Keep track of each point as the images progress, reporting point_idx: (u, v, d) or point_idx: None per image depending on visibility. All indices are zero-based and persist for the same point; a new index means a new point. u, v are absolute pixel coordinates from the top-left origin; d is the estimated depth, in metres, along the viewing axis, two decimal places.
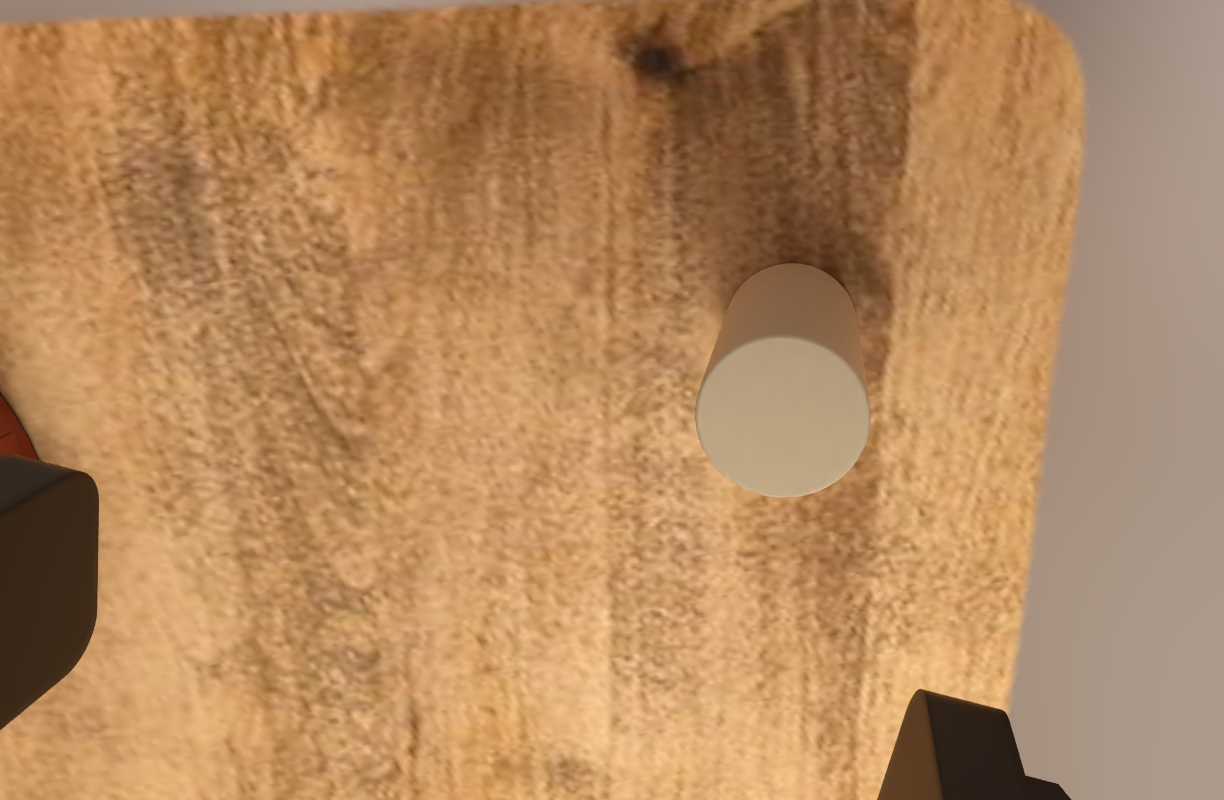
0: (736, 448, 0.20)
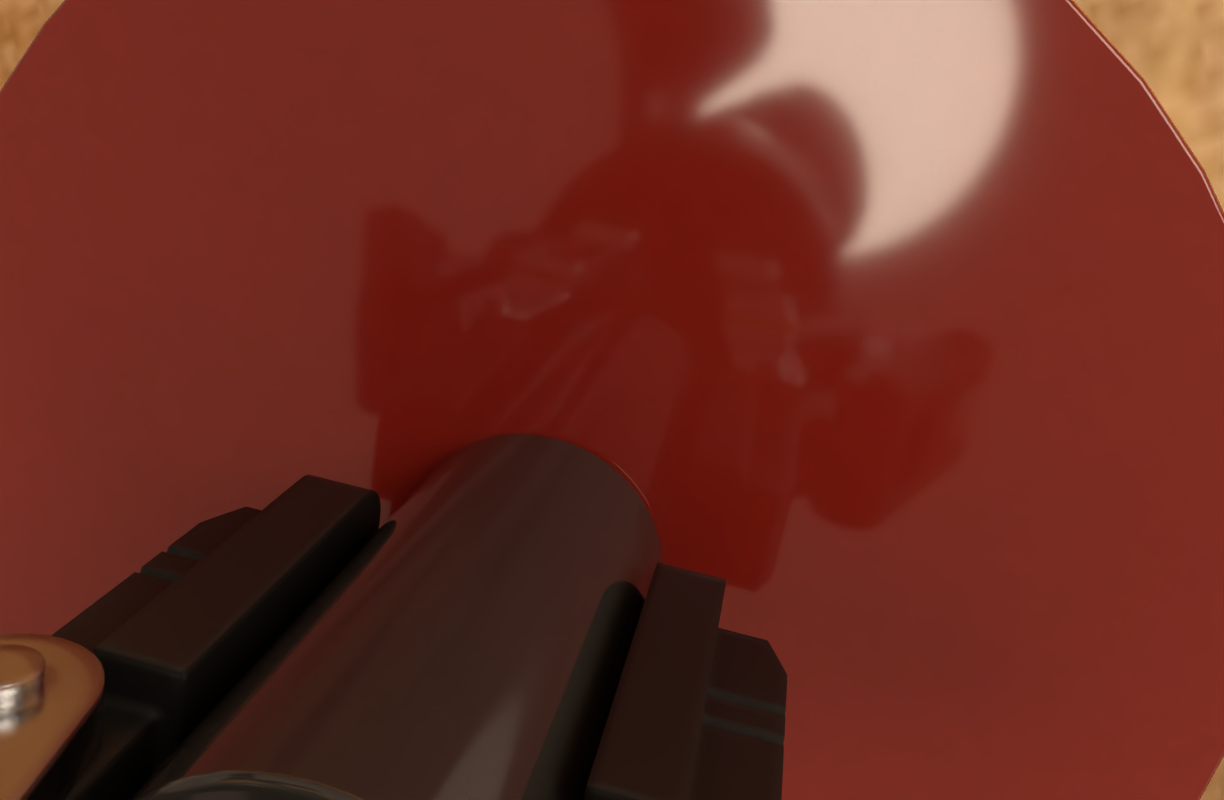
0: None
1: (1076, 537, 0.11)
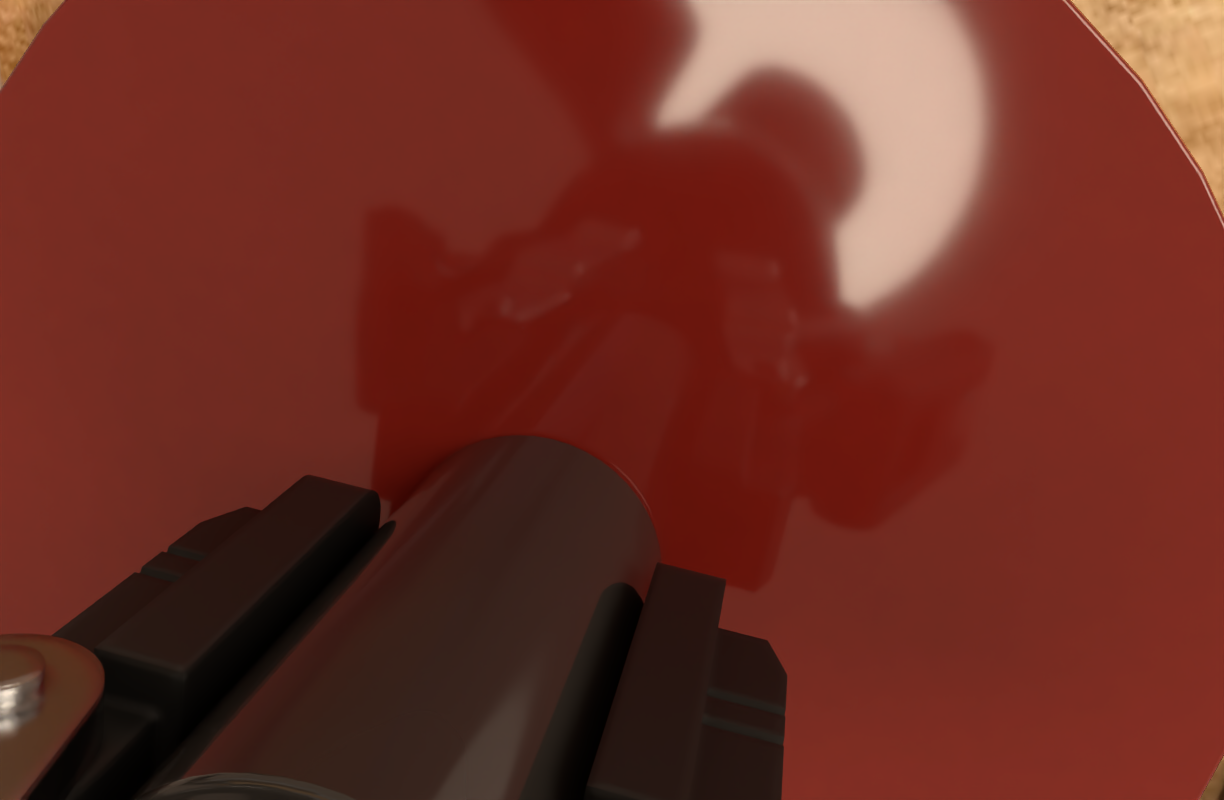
0: None
1: (1074, 539, 0.11)
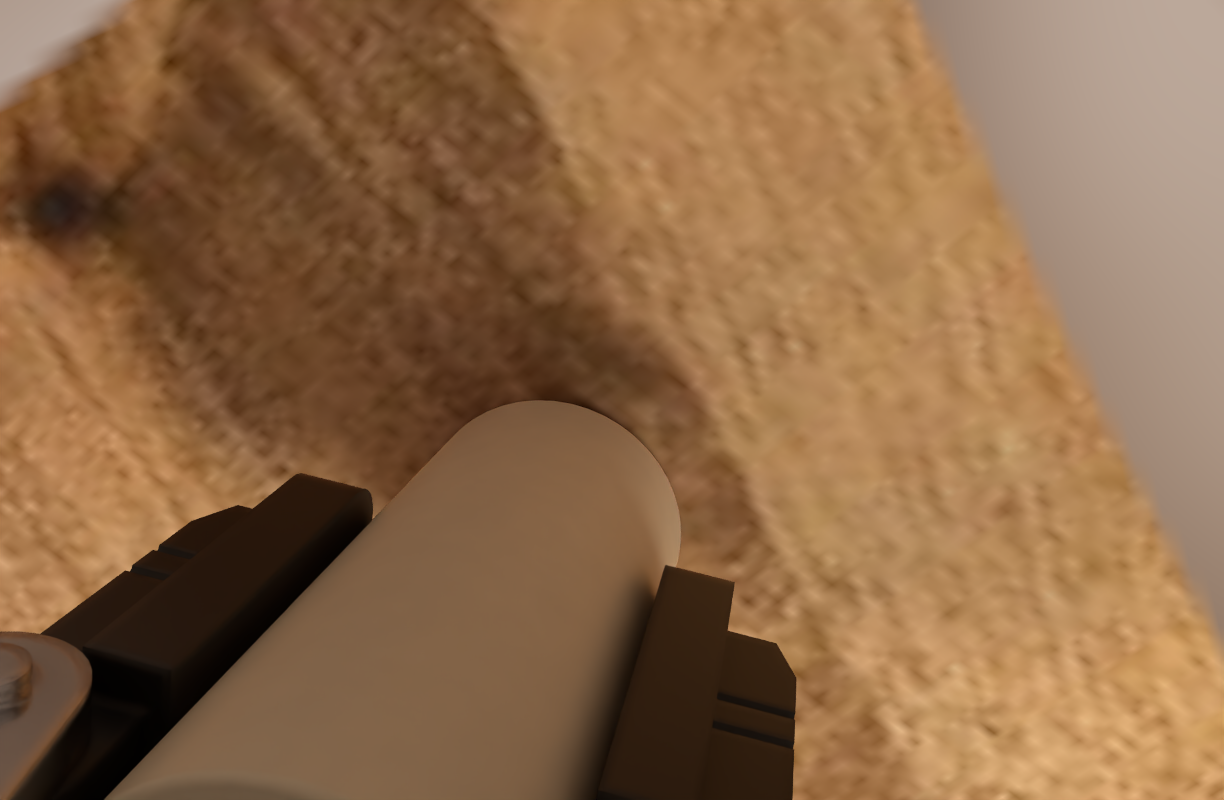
0: None
1: None
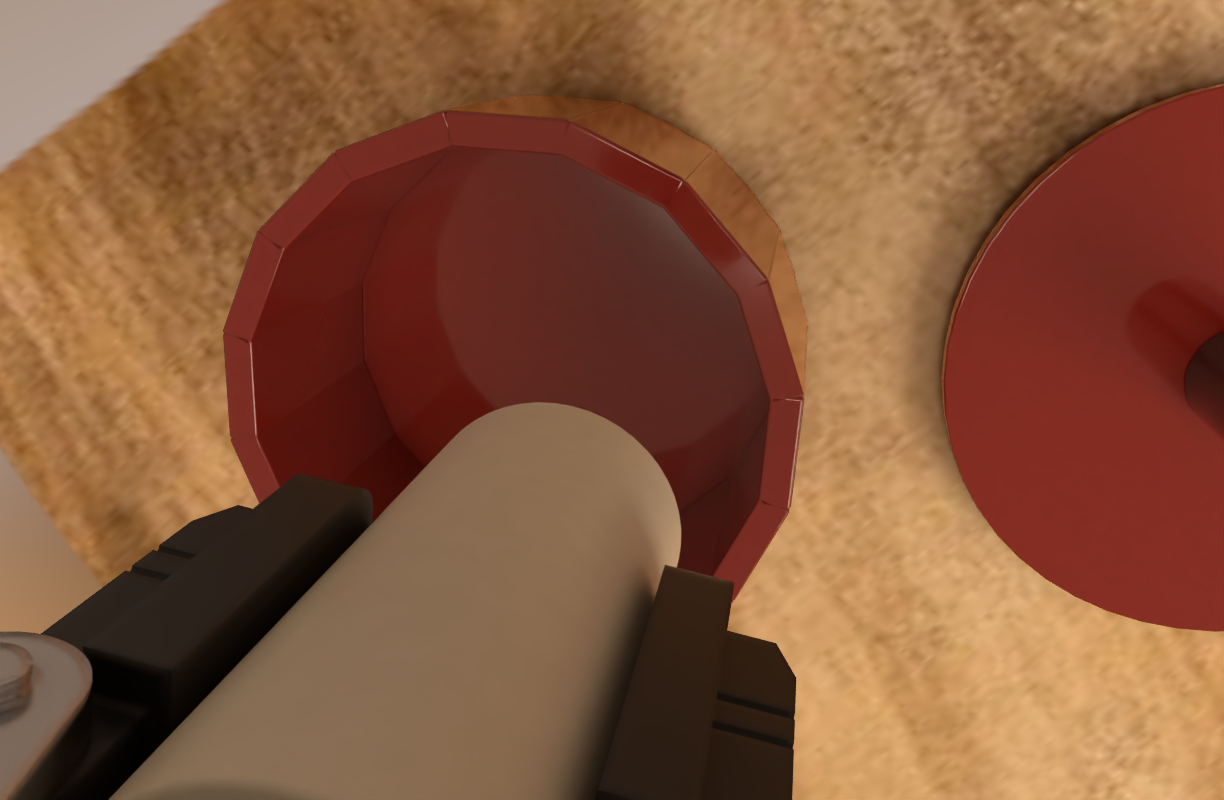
0: None
1: None
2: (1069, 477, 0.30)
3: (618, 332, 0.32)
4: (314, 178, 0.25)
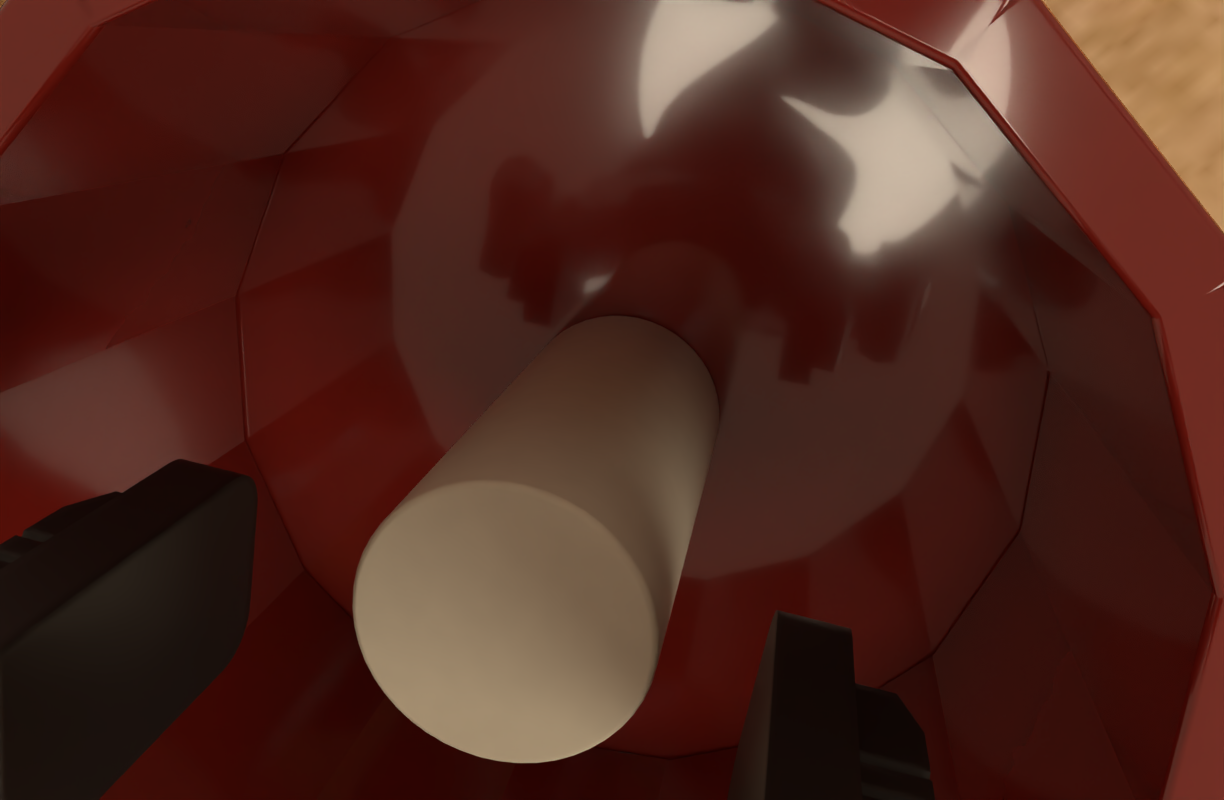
0: (468, 708, 0.11)
1: None
2: None
3: (722, 387, 0.17)
4: (2, 19, 0.10)
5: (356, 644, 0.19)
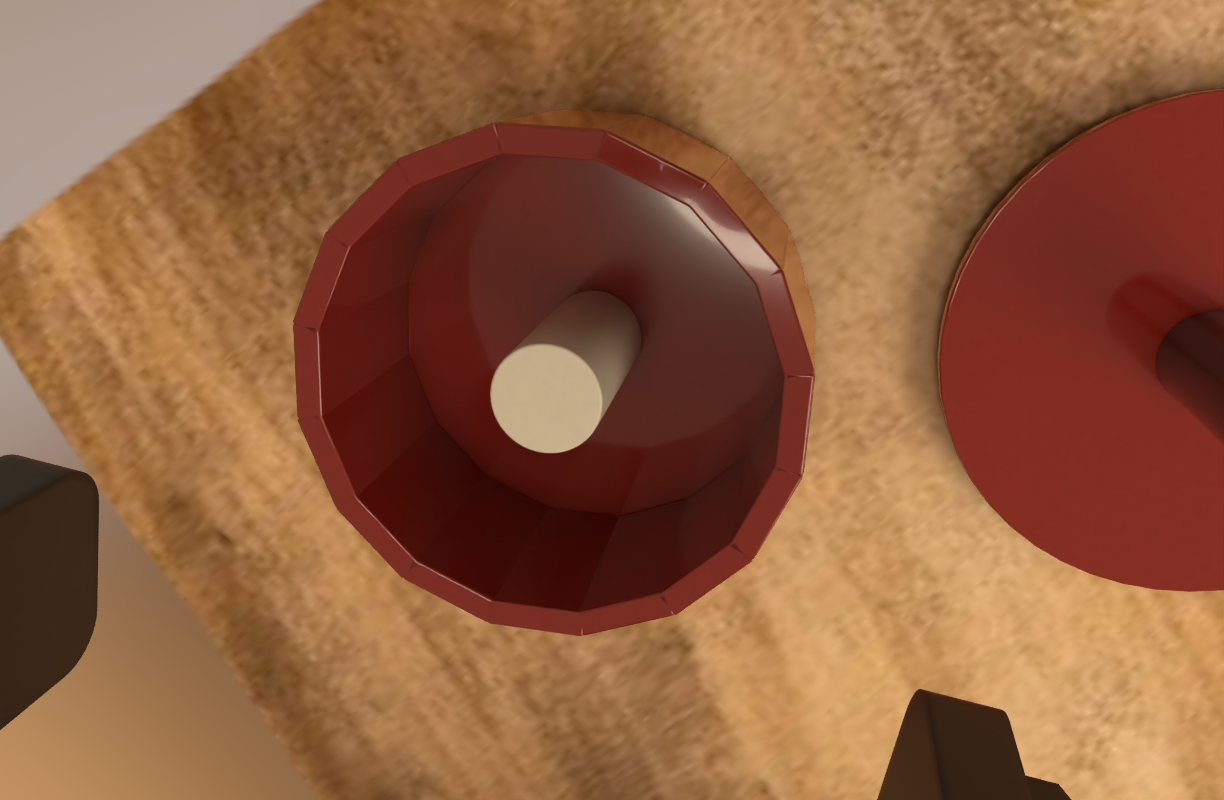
0: (533, 431, 0.30)
1: None
2: (1054, 451, 0.33)
3: (642, 324, 0.35)
4: (378, 184, 0.28)
5: (462, 457, 0.38)
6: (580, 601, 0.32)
